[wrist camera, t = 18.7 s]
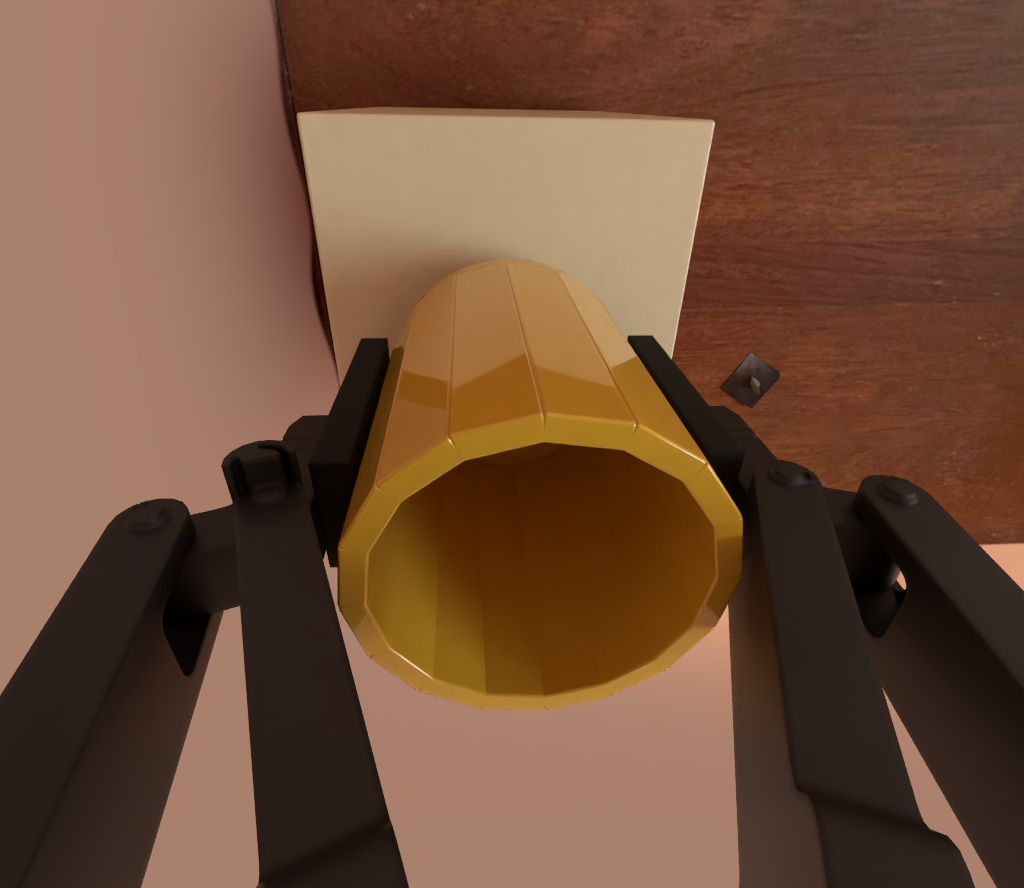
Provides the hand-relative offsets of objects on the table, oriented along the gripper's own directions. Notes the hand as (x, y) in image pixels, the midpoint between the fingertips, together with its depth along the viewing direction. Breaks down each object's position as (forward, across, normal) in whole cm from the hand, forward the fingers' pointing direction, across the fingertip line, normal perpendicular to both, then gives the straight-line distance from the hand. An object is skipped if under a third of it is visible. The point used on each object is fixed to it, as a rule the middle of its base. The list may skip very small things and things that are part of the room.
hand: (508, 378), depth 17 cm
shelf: (+17, 0, 0) cm, 17 cm away
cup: (0, 0, 0) cm, 0 cm away
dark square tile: (+17, +18, -8) cm, 26 cm away
